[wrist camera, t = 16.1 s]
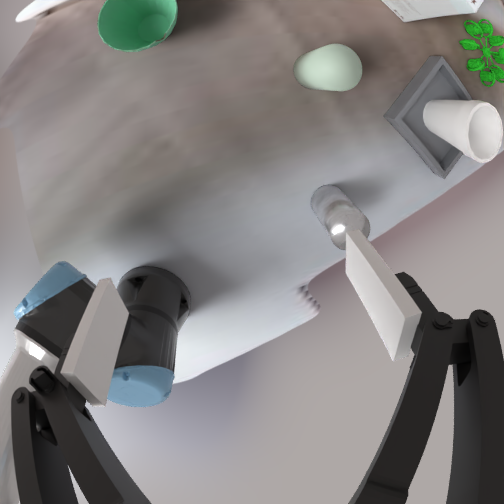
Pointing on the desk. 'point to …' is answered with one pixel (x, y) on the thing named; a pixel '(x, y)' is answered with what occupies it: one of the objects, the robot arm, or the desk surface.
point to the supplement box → (431, 8)
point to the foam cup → (466, 126)
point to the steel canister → (338, 214)
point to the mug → (136, 23)
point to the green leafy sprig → (484, 51)
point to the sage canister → (329, 68)
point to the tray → (411, 113)
